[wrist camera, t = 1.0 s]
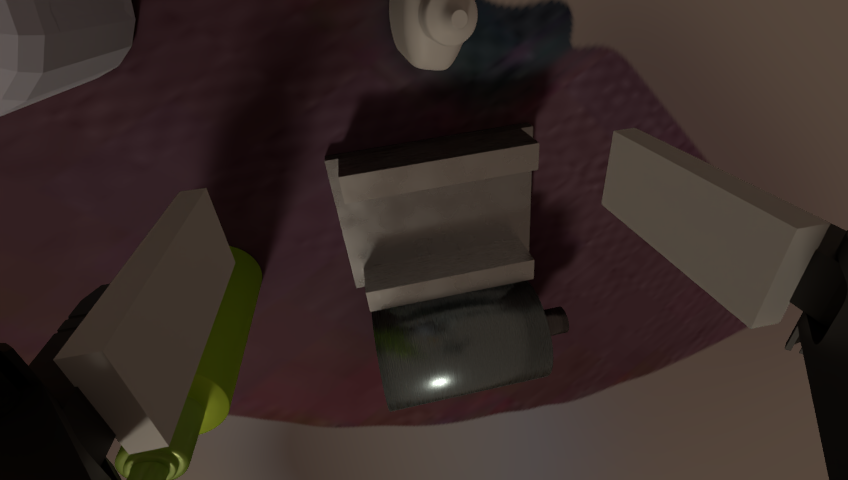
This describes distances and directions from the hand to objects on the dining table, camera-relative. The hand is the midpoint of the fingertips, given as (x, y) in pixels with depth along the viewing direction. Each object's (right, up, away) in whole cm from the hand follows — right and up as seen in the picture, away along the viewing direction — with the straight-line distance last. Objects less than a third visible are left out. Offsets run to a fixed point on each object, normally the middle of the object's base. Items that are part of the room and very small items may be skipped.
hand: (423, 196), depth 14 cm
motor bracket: (+2, -3, +24) cm, 25 cm away
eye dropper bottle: (-1, +14, +14) cm, 20 cm away
